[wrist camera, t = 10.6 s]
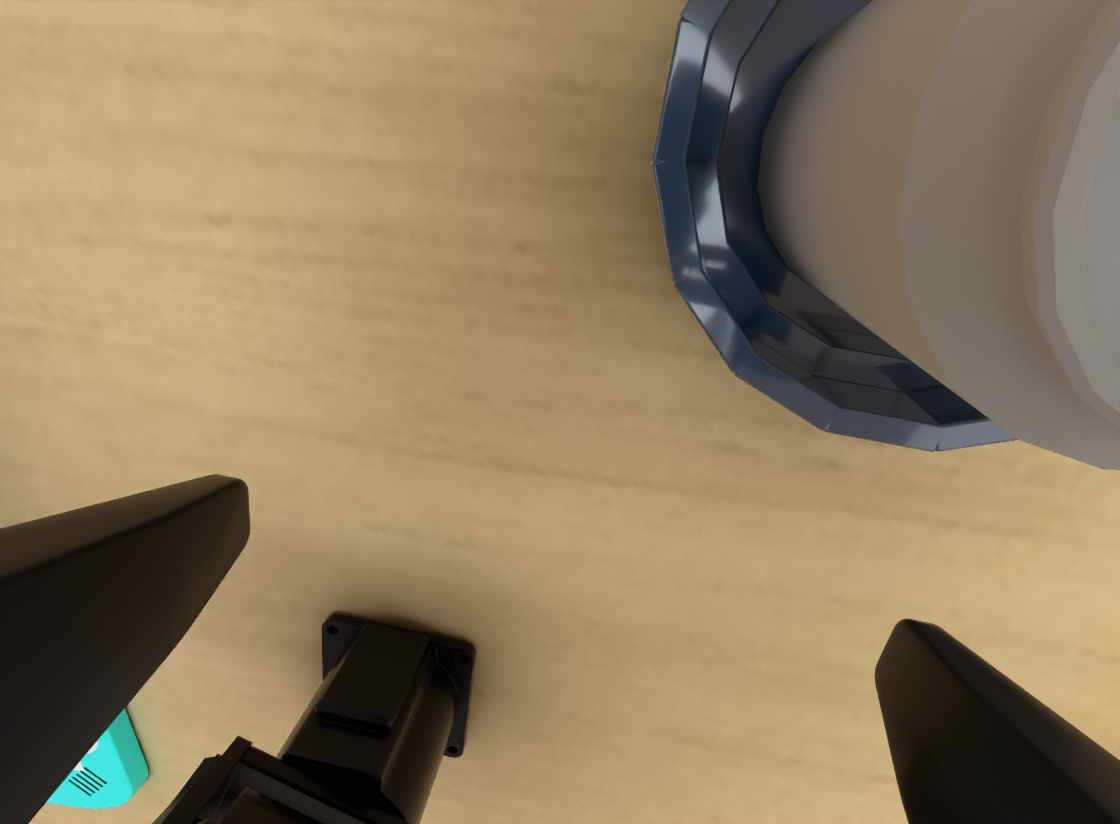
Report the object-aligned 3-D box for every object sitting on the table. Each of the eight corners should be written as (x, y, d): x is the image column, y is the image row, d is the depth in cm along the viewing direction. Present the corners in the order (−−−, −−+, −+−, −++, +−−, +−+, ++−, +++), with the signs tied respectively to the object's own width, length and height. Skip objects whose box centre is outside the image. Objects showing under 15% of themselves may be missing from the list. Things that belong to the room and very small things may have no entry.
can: (1025, -82, 13) (2723, -1181, 2) (1090, 227, 16) (2154, 379, 5) (709, 93, 16) (862, -78, 5) (804, 345, 18) (1065, 639, 7)
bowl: (1036, 412, 18) (1168, 496, 14) (616, 337, 19) (606, 392, 14) (1311, -126, 13) (1673, -284, 8) (717, -198, 14) (753, -375, 9)
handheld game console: (-5, 772, 33) (-30, 796, 32) (-134, 527, 27) (-172, 545, 26) (159, 795, 32) (139, 821, 31) (62, 544, 26) (33, 563, 24)
